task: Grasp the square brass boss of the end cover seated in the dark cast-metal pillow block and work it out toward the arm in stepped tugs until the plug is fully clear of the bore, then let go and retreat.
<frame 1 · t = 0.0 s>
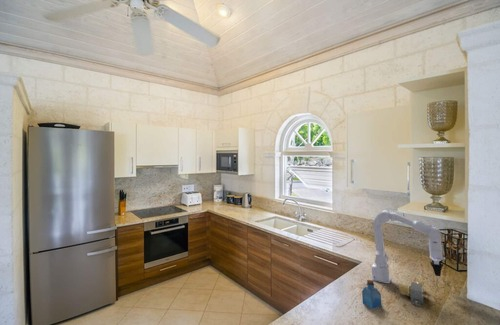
hand: (437, 273, 133), 10 cm above the countertop, fingers open, 7 cm apart
end cover: (409, 290, 129), point 3 cm above the countertop, slide at 0.0 cm
pillow block: (417, 298, 127), on the countertop
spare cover: (419, 290, 135), on the countertop
perfume bottle: (372, 305, 123), on the countertop
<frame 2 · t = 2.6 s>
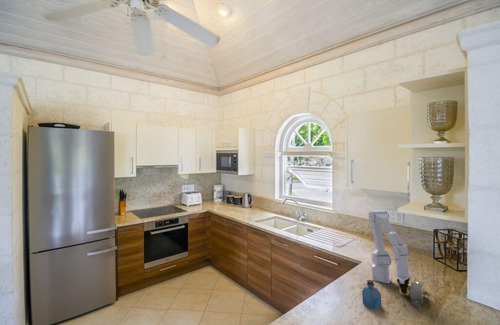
hand: (404, 292, 130), 2 cm above the countertop, fingers closed on end cover, 3 cm apart
end cover: (409, 290, 129), point 3 cm above the countertop, slide at 0.0 cm, touching gripper
everything else where it was.
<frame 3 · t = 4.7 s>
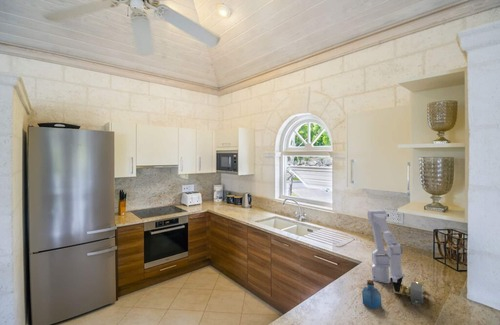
hand: (397, 290, 132), 2 cm above the countertop, fingers closed on end cover, 3 cm apart
end cover: (402, 289, 131), point 3 cm above the countertop, slide at 3.1 cm, touching gripper
everything else where it was.
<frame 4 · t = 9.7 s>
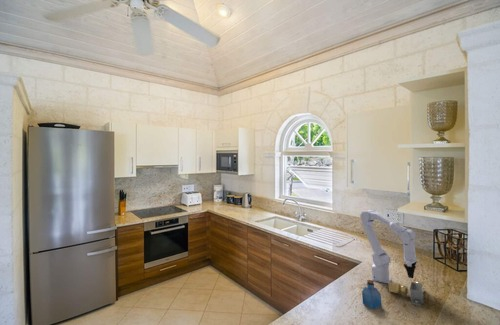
hand: (411, 275, 135), 9 cm above the countertop, fingers open, 7 cm apart
end cover: (398, 288, 132), point 3 cm above the countertop, slide at 5.2 cm
everything else where it was.
at the end: end cover slide at 5.2 cm; the gripper is holding nothing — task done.
